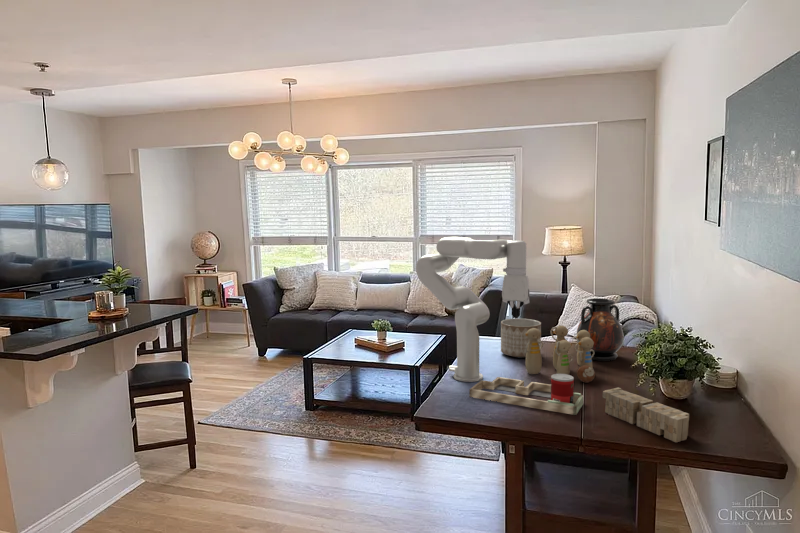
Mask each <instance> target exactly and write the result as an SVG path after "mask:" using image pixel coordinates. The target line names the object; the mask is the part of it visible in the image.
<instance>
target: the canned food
mask: <svg viewBox="0 0 800 533" xmlns="http://www.w3.org/2000/svg"><path fill="white" fill-rule="evenodd" d="M574 382H575V379H574V376H572V375H570V374H569V375H567V374H557V373H554V374H551V376H550V385H551V398H550V400H553V401H559V402H566V403H572V404H574V403H573V397H574V393H575V392H574V391H575V383H574Z"/></svg>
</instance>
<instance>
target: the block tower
mask: <svg viewBox="0 0 800 533" xmlns="http://www.w3.org/2000/svg"><path fill="white" fill-rule="evenodd" d="M602 398H603V399H605V410H604V413H606V414H608V415H609V416H612V417H615V418H617V419H619V420H621V421H624V422H627V423H629V424H631V425H634V424H636V427H639V428H641V429H643V430H646V431H648V432H650V433H653V434H655V435H658V436H663V438H665V439H667V440H669V441H671V442H674V443H678V442H679V443H680V442H681V441H686V440H687V438H688V436H689V421H690V413H688V412H684V411H682V410H681V409H677V408H675V407H672V406H668V405H665V404H662V403H660V402H654V400H653V399H649V398H646V397H644V396H642V395H638V394H636V393H632V392H629V391H627V390H623V389H622V388H621V387H615V388H611V389H606V390H603V391H602Z"/></svg>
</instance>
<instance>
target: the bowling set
mask: <svg viewBox="0 0 800 533" xmlns="http://www.w3.org/2000/svg"><path fill="white" fill-rule="evenodd" d="M549 333H550V336H551V338H552V339H553V340H554V341H555V342H554V343H555V344H554V349H553V353H552V365H553V368H554V369H555V370H556V374H567V375H570V373H571V368H570V367H571V366H570V363H571V362H572V361H573V359H574V358H573V354H572V353H570V350H571V349H572V346H573V344H572V343H571V342H570V341H569V340H567V339H566V336H567V335H568V333H569V330H568V328H567V327H566V326H565V325H558V326H553V327H551V329H550V331H549ZM554 335H556V338H555V336H554ZM526 336H527V337H528V339H529V340H530V341H529V343H527V345H526V352H527V354H526V358H525V363H524V364H525V370H526V372H527V373H528V374H529V375H538V374H540V373H541V370H542V366H543V361H542V360H543V359H542V352H540V349H541V350H542V348H543V347H544V342H543V341H542V340H541V341H537V339H539V338H540V336H541V337H542V332H541V333H540V331H539V330H538V329H536V328H532V329H530V330H528V332H527V333H526ZM577 338H578V340H579V341H580V342H577V343H576V344H575V346H574V350H575V352H577V353H576V362H577V365H578V366H579V368H578V369H577V370H576V376H577V378H578V380H580V382H583V383H586V384H588V383H591V382H592V381H594V379H595V377H596V372H595V370H594V368H593V367H594V366H593V360H592V357H593V356H594V350H590V348H592V347H593V345H594V342H593V340H592V339H591V338H590V333H589V332H588V331H586V330H581V331H579V332H578V334H577V337H575V339H576V340H577ZM538 343H541V347H540V348H539V344H538ZM527 346H528V348H527ZM577 347H578V348H577ZM590 351H593V355H592V356H591V353H590ZM569 356H570V358H569Z"/></svg>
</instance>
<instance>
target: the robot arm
mask: <svg viewBox="0 0 800 533" xmlns="http://www.w3.org/2000/svg"><path fill="white" fill-rule="evenodd" d="M436 252H437V253H431V254H429V253H428V254H425V255H423V256H421V257H420V258H419V259H417V262H416V265H415V271H416V276H417V278H418V280H419V281H420V282H421V284H422V285H423V286H424V287H426V289H428V290H429V292H431V293H432V295H434V297H435V298H436V299H437V300H438V301H439V303H441V304H442V305H443V306H444V307H445V308H446V309H447V310H450V311H453V310H456V311H455V313H454V322H455V328H456V365H449V366H448V370H449V372H454V373H453V379H454V380H456V381H459V382H466V383H474V382H480V381H481V380H484V379H483V378H484V375H483V373H481V372H480V334H479V330H478V328H477V326H479V325H482V324H484V323H486V322H487V321H488V320H489V318H490V315H491V314H490V309H489V308H488V306H487V304H486V303H485V302H484V301H483V300H482V299H481V298H480V297H478V295H477V294H476V293H475V292H474V291H472V290H471V288H468V287H467V286H462V285H459V286H453V285H452V284H451V283H450V282H449V281H448V280H447V279H446V278H445V277H443V276H442V275H440V274H439V273H442V272H445V271H447V270H448V269H450V268H451V267H453V266H452V265H454V264H455V263H456V262H457V261H458V260H459V258H463V259H464V258H466V259H476V260H477V259H478V260H496V259H497V260H498V259H504V258H506V266H505V268H503V269H502V272H503V273H505V274H504V276H503V280H502V290H501V298H502V302H503V303H506V304H508V306H510V308H511V316H512V319H519V317H520V316H521V307H523V306H525V305H528V304H530V294H531V292H530V282H529V281H530V280H529V276H528V274H527V243H526V241H524V240H509V239H504V238H503V239H502V238H500V239H492V240H491V239H490V240H481V239H479V240H478V239H477V240H476V239H473V237H460V236H447V237H446V236H444V237H442V238H441V239H439V240H438V241H437V243H436Z"/></svg>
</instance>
